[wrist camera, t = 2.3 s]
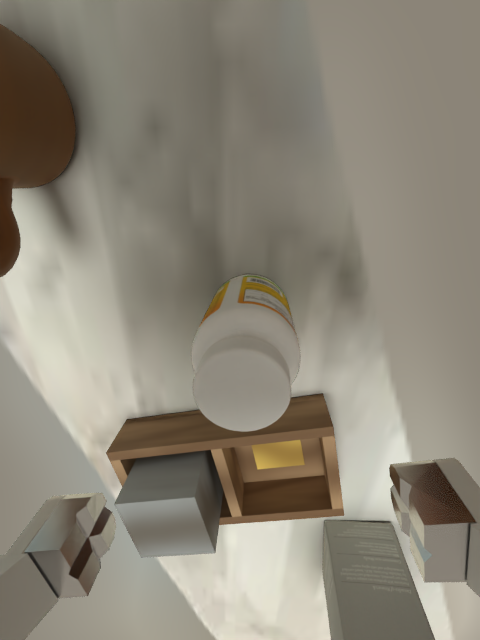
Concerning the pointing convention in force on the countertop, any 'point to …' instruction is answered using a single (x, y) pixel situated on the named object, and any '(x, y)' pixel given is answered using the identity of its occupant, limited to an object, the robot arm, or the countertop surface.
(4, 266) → the mug
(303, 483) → the caddy
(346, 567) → the skincare box
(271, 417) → the supplement bottle
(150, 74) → the countertop surface
